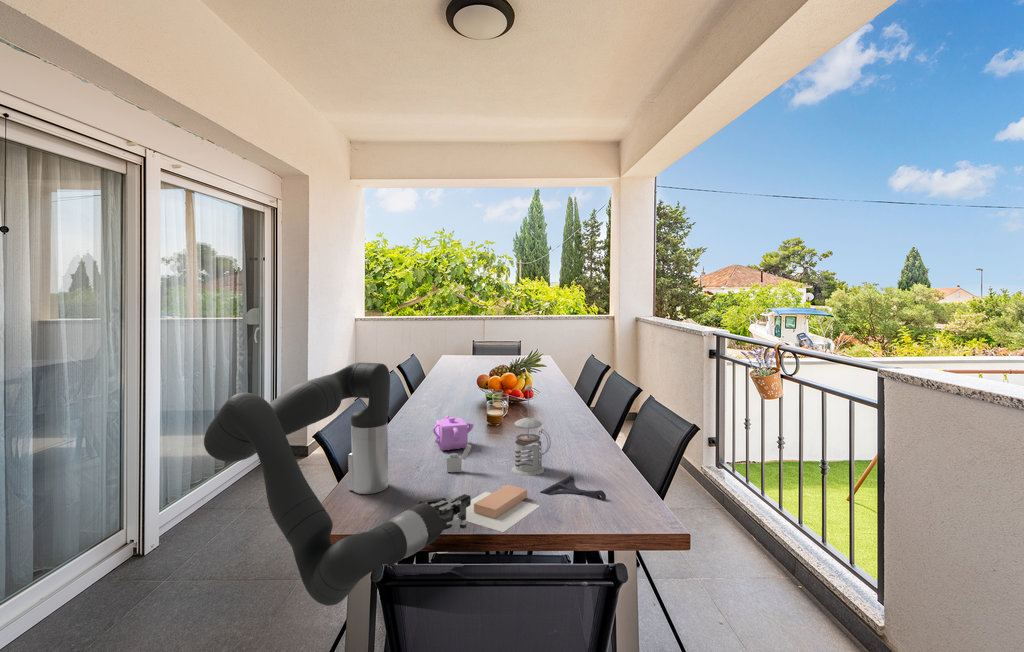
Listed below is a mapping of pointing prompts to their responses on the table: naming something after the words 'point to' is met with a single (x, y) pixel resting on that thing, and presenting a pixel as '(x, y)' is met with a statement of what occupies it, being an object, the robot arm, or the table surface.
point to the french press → (528, 447)
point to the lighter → (457, 460)
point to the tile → (500, 501)
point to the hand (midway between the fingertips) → (467, 499)
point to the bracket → (572, 489)
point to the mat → (504, 519)
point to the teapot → (452, 433)
